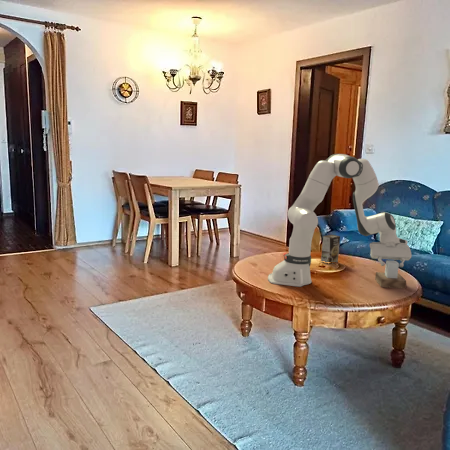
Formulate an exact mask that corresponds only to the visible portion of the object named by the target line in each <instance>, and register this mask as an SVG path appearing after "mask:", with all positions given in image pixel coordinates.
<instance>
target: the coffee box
mask: <svg viewBox="0 0 450 450" xmlns="http://www.w3.org/2000/svg"><path fill="white" fill-rule="evenodd" d="M340 243H341V236H340V235H336V234H328V235H323V236H322V246H321V255H320V262H321V261H325V262H336V263H338V262H339V255H340V254H339V253H340Z"/></svg>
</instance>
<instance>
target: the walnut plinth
mask: <svg viewBox="0 0 450 450" xmlns="http://www.w3.org/2000/svg"><path fill="white" fill-rule="evenodd" d="M374 280H375V281H376V283H377V284H378V285H379V286H380V288H388V287H389V289H390V288H391V289H404V288H405V289H406V285H407V280H406V279H405V278H404V277H403V276H402V275H401V274H400V273H398V275H397V278H387V277H386V276H385V272H375V279H374Z"/></svg>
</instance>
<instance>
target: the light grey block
mask: <svg viewBox="0 0 450 450" xmlns="http://www.w3.org/2000/svg"><path fill="white" fill-rule="evenodd" d="M399 264H400V263H399V262H398V260H391V259H385V265H384V267H385V268H384V273H385V276H386V277H387V278H397V275H398V274H399V268H400V265H399Z"/></svg>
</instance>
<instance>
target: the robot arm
mask: <svg viewBox="0 0 450 450" xmlns="http://www.w3.org/2000/svg"><path fill="white" fill-rule="evenodd" d="M336 176H337V177H340V178H343V179H352V180H353V182H354V183H353V184H354V186H355V190H354V191H353V193H352V203H353V208H354V212H355V218H356V224H357V230H358V233H359V234H360V235H362V236H365V237H368V236H371V235H374V234H379V241H377V242H376V241H372V242H370V243H369V248H370V258H371V259H374V260H378V262H379V263H380V266H381V267H385V266H386V261H383V260H393V261H400V263H399V268H403V267H404V263H405V261H410V259H412V255H413V254H412V250H411V248H410V246H409V245H408V240H407V239H404V238H401V237H398V236H397V228H396V227H397V225H396V219H395V217H394V216H393V214H391V213H389V212H386V211H384V212H380V213H377V214H373V215H369V216H366V215H365V210H364V205H363V204H364V202H365V201H366V200H368V199H370V198H371V197H372V196H373V195H374V194H375V193H376V192H377V190H378V188H379V180H378V177H377V174H376V172H375V170H374V168H373V166H372V165H371V163H370V162H369V160H368V159H366V158H358V159H357V158H356V157H354V156H350V155H348V154H345V153H334V154H332V155H330V156H329V157H328V158H326V159H325V160H319V161H318V162H316V164H315V165H314V167H313V169H312V170H311V171H310V174H309V175H308V177H307V180H306V182H305V185H304V186H303V188H302V190H301V192H300V194H299V196H298V197H297V198H296V200H295V201H294V202H293V204H292V205H291V206H290V207H289V208H288V210H287V218H288V220H289V222H290V223H291V224H292V226H293V228H292V232H291V236H290V238H289V244H288V252H286V251H285V252H283V257H284V259H283V260H282V261H280V262H279V263H277V264H276V265H275V266H274V267H273V270H272V272H271V273H269V274H268V276H267V281H268V282H269V283H271V284H274V285H284V286H292V287H298V288H300V287H303V286H307V285H309V284H311V283H312V278H311V264H312V255H311V251H312V240H313V238H314V237H313V236H314V233H315V229H316V228H317V226H318V224H319V219H318V216H317V214H316V213H315V212H314V211H315V209H316V208H317V206H318V205H319V204H320V203H322V201H323V200H324V198H325V195H326V193H327V192H328V189H329V187H330V186H331V182H332V181H333V179H334V178H336Z"/></svg>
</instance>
